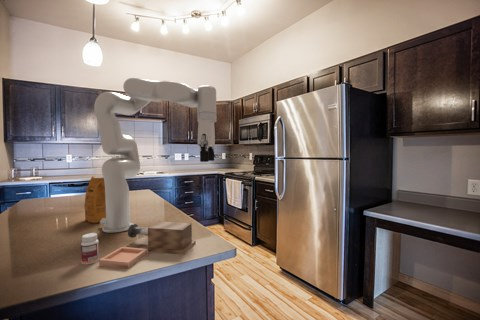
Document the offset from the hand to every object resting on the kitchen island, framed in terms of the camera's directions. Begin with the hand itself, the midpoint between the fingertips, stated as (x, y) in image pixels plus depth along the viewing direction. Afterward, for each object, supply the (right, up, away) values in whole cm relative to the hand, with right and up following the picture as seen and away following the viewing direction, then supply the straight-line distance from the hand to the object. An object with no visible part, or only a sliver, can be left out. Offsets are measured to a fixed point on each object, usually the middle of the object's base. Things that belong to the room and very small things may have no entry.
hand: (207, 161), depth 96 cm
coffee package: (-59, -30, +26) cm, 71 cm away
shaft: (-21, -28, -8) cm, 36 cm away
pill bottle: (-34, -32, -20) cm, 51 cm away
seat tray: (-24, -31, -20) cm, 44 cm away
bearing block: (-15, -31, -9) cm, 36 cm away
